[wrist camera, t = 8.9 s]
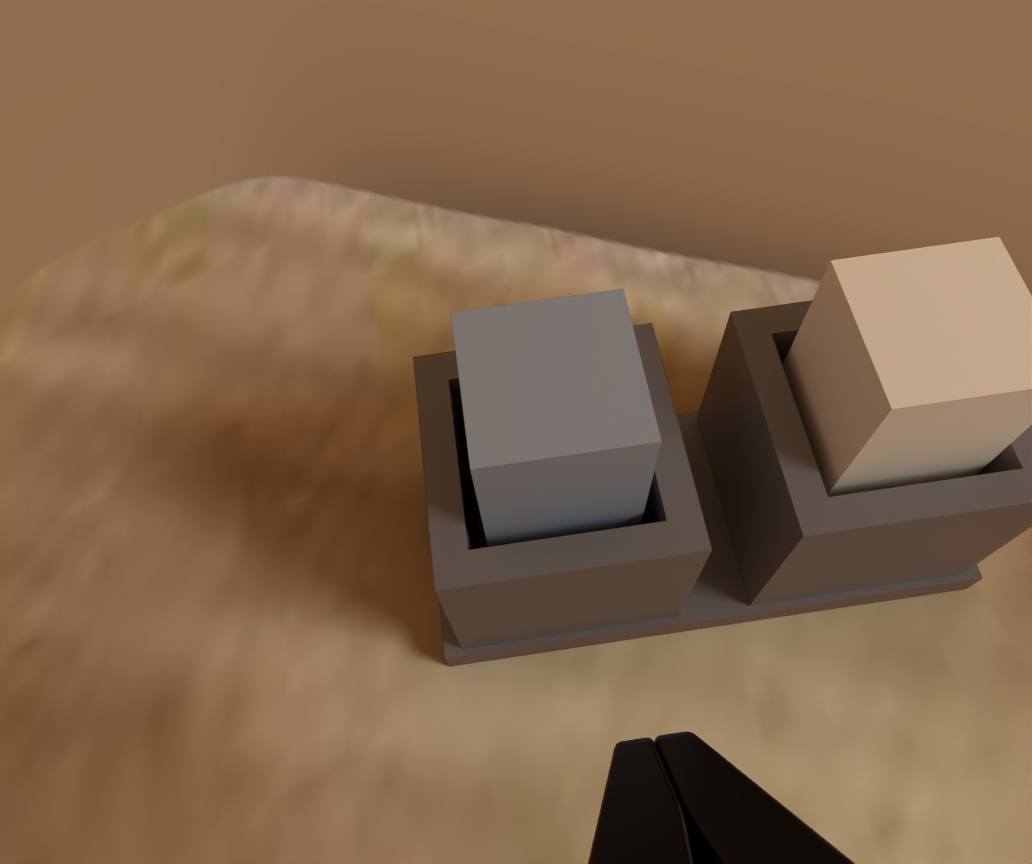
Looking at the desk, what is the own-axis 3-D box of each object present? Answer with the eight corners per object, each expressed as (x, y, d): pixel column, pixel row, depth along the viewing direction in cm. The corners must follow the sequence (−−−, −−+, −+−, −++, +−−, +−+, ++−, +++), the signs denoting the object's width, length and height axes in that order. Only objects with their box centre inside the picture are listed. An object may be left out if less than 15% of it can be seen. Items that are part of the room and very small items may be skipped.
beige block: (927, 518, 21) (1078, 382, 15) (794, 538, 21) (891, 409, 15) (880, 402, 23) (999, 236, 17) (757, 420, 23) (830, 260, 17)
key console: (966, 588, 23) (1102, 501, 17) (449, 666, 23) (412, 603, 17) (887, 398, 26) (981, 269, 20) (429, 464, 26) (392, 352, 20)
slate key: (631, 562, 21) (661, 441, 15) (496, 582, 21) (470, 469, 15) (605, 441, 23) (623, 288, 17) (480, 459, 23) (450, 312, 17)
